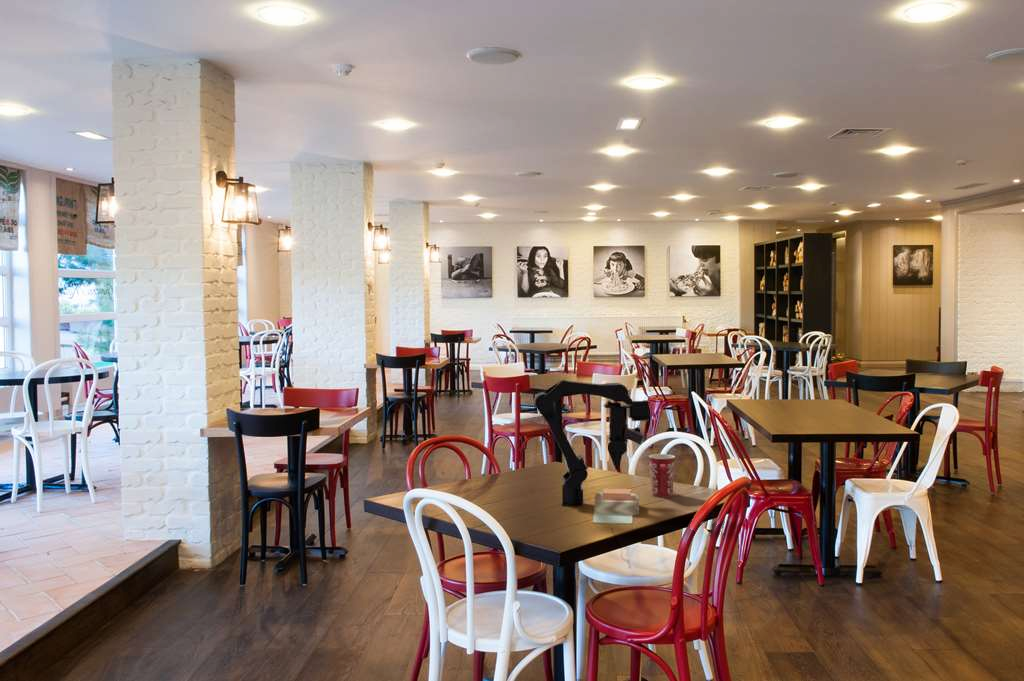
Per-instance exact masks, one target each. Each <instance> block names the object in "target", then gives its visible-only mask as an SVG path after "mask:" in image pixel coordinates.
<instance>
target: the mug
mask: <svg viewBox="0 0 1024 681" xmlns="http://www.w3.org/2000/svg"><path fill="white" fill-rule="evenodd" d="M648 458H649V473H650V474H649V475H650V485H651V486H650V487H651V488H650V492H651V495H652V496H654V497H658V498H659V497H660V498H668V497H672V496H673V494H674V478H675V477H674V476H675V461H676V460H675V459H676V456H675V455H672V454H667V453H666V454H665V453H655V454H649V455H648Z"/></svg>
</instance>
